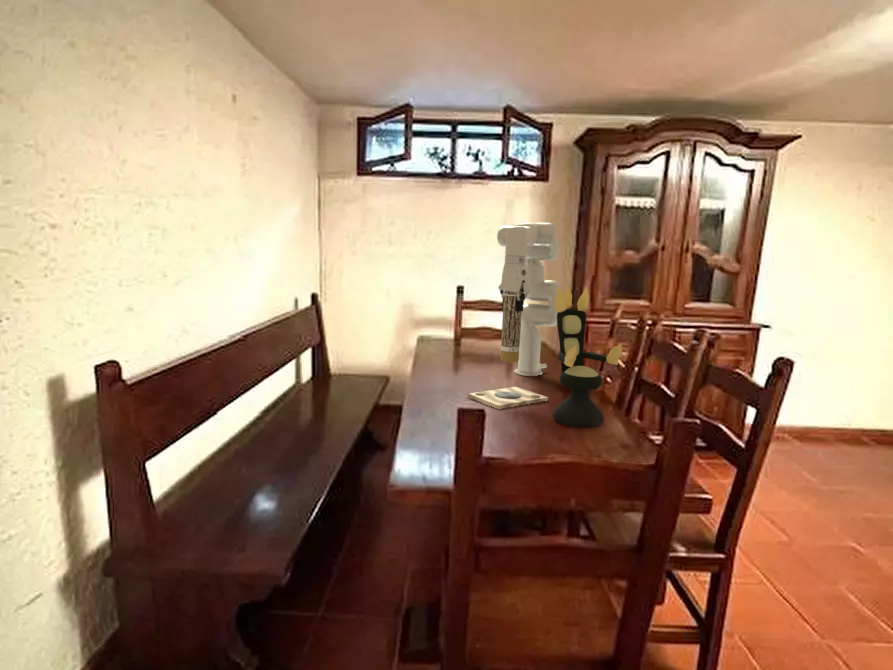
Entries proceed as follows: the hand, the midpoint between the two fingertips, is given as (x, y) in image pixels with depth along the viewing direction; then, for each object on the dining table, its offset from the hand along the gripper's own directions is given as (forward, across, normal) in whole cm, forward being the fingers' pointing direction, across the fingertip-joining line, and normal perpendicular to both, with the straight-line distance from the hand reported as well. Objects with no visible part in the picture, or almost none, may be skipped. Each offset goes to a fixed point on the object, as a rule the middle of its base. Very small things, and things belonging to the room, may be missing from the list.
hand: (512, 309), depth 215 cm
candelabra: (+34, -30, -3) cm, 46 cm away
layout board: (+34, 0, 0) cm, 34 cm away
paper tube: (+19, 0, 0) cm, 19 cm away
